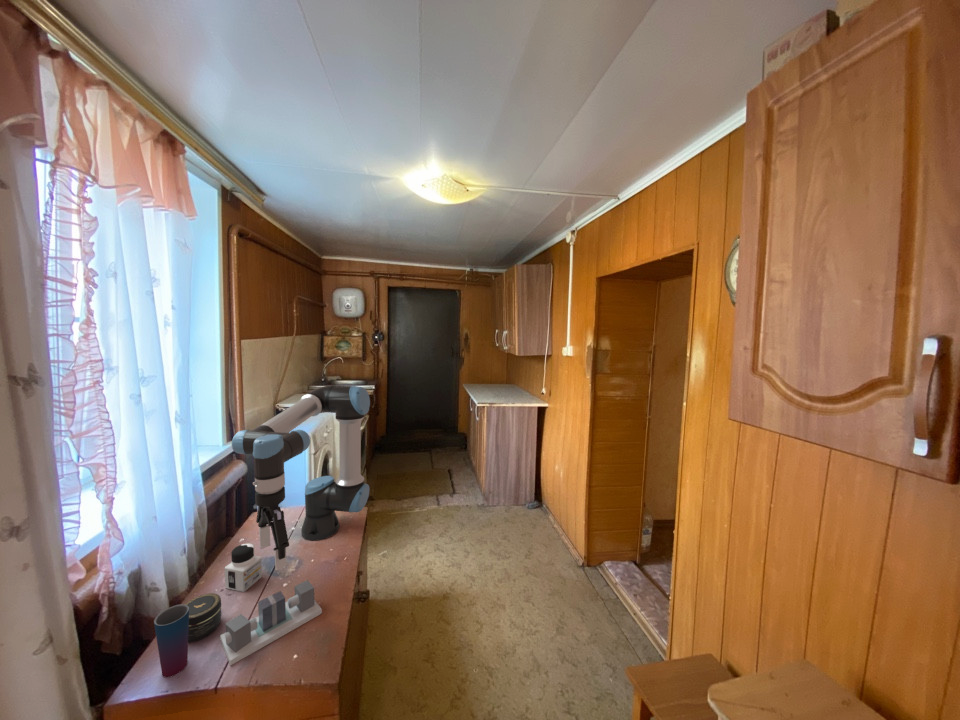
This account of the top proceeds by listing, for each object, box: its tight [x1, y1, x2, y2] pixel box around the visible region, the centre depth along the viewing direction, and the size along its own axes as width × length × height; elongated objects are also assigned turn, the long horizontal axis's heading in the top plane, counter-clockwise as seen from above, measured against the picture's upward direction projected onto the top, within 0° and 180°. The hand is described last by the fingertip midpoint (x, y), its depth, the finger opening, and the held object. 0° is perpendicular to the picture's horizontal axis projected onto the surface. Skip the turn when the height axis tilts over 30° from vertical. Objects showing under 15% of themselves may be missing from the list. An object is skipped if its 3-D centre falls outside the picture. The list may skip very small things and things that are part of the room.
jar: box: [185, 592, 222, 643], centre depth 104 cm, size 10×10×8 cm
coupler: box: [257, 590, 286, 632], centre depth 105 cm, size 6×4×7 cm
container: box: [224, 543, 263, 593], centre depth 122 cm, size 8×8×13 cm
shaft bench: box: [219, 579, 323, 666], centre depth 105 cm, size 24×11×8 cm, turn 137°
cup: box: [153, 603, 189, 678], centre depth 91 cm, size 7×7×15 cm
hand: (272, 556), depth 105 cm, fingers open, 13 cm apart
